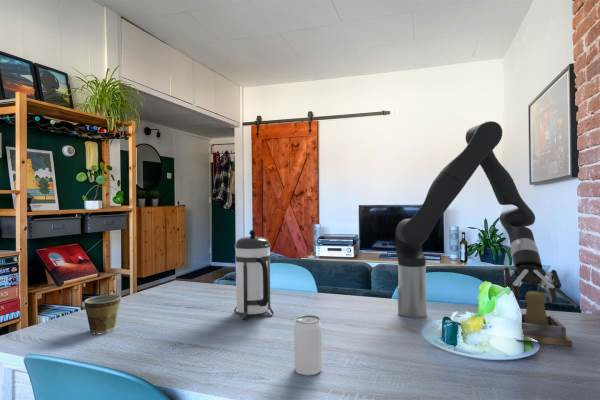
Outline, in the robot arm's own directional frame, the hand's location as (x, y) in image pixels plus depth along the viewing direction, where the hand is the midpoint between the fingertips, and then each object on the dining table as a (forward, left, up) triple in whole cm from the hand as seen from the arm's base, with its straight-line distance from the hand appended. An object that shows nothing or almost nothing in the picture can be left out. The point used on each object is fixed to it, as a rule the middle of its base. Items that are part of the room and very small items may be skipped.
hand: (535, 300), depth 103 cm
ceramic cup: (-127, -38, -10) cm, 133 cm away
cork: (0, 0, -9) cm, 9 cm away
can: (-56, -42, -10) cm, 71 cm away
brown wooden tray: (0, 0, -10) cm, 10 cm away
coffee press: (-87, -9, -10) cm, 88 cm away
